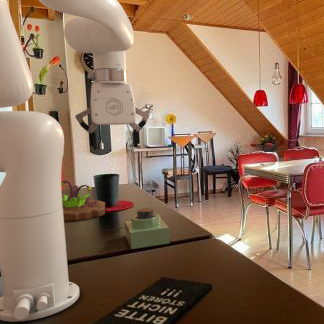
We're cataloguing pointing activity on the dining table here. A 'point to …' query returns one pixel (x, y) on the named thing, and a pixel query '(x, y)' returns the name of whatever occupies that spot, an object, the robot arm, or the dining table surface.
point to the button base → (146, 232)
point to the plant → (80, 205)
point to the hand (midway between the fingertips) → (115, 148)
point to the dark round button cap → (145, 213)
